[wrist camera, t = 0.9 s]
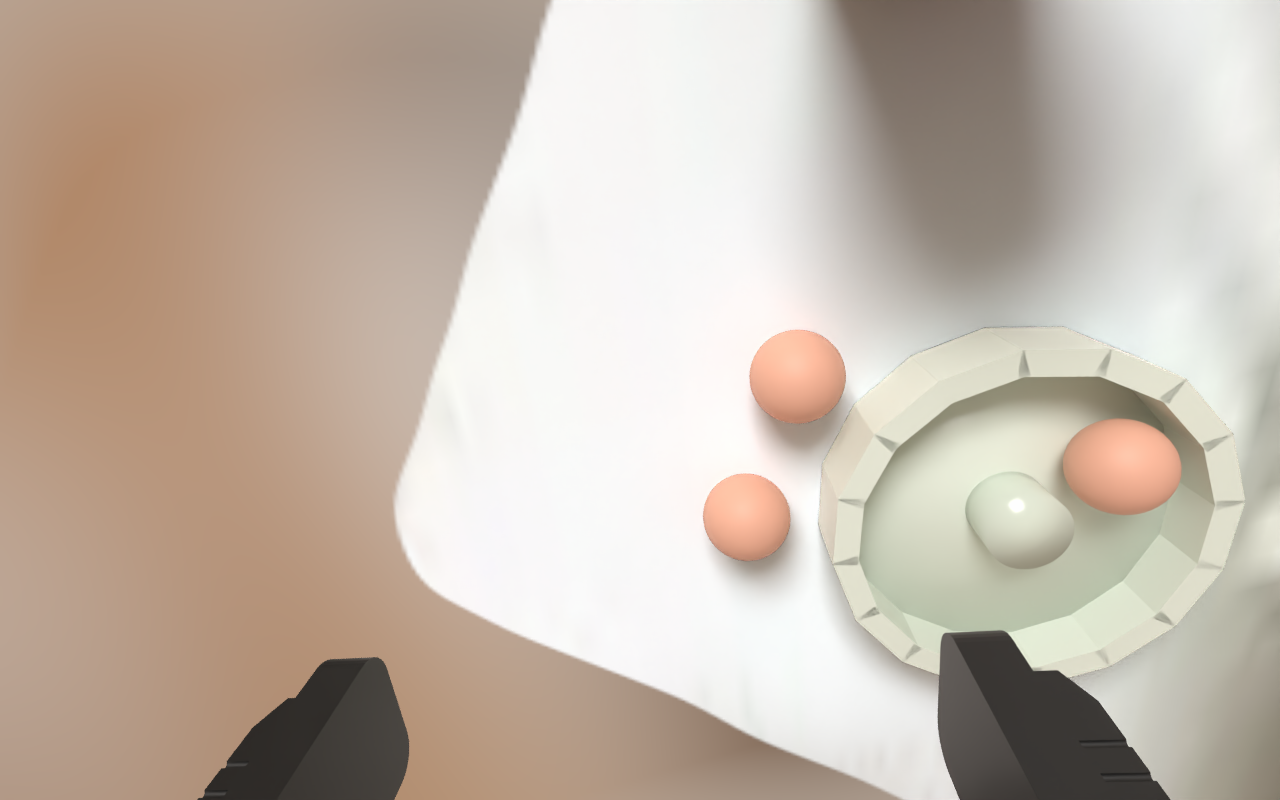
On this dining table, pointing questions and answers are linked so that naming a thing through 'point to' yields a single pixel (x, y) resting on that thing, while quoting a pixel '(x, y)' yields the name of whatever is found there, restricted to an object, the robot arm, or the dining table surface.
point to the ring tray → (1021, 502)
